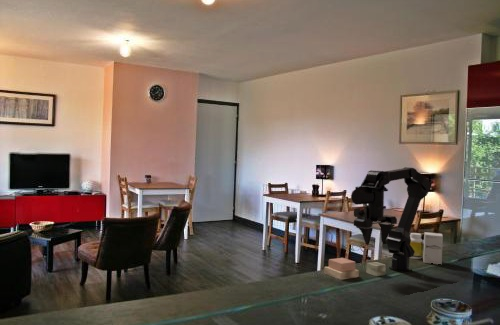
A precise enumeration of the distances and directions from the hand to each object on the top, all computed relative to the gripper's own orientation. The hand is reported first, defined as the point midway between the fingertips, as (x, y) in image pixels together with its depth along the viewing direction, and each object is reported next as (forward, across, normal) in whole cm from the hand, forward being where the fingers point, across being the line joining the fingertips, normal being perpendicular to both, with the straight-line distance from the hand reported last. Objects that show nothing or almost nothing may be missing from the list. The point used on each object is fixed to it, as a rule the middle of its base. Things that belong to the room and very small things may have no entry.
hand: (375, 243), depth 161 cm
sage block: (+12, 0, 0) cm, 12 cm away
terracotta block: (+9, +13, -5) cm, 17 cm away
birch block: (+12, +13, -5) cm, 18 cm away
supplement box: (+13, -39, -1) cm, 41 cm away
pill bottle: (+13, -39, -10) cm, 42 cm away
